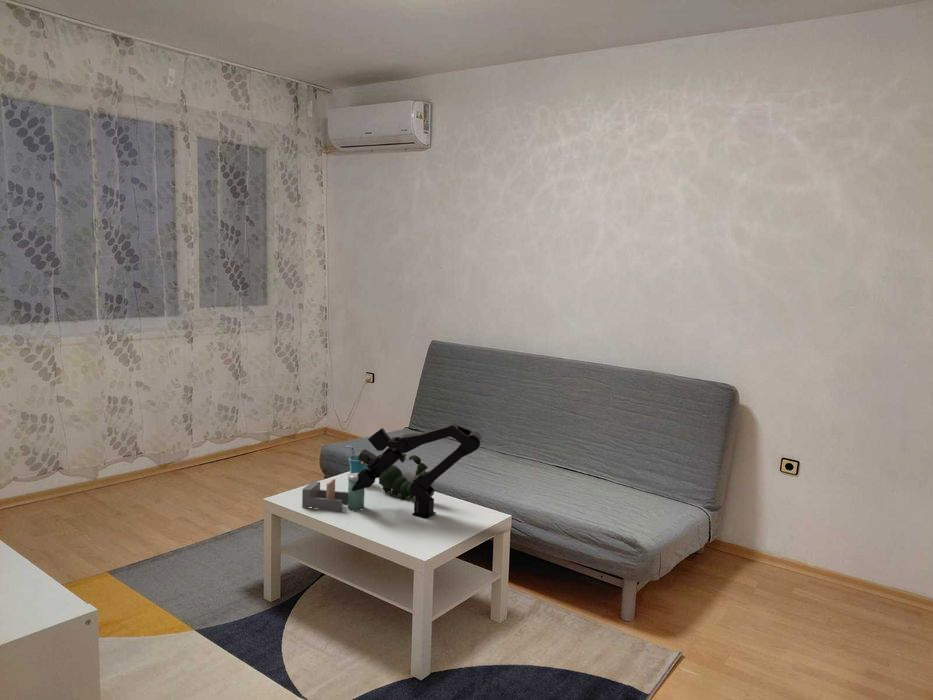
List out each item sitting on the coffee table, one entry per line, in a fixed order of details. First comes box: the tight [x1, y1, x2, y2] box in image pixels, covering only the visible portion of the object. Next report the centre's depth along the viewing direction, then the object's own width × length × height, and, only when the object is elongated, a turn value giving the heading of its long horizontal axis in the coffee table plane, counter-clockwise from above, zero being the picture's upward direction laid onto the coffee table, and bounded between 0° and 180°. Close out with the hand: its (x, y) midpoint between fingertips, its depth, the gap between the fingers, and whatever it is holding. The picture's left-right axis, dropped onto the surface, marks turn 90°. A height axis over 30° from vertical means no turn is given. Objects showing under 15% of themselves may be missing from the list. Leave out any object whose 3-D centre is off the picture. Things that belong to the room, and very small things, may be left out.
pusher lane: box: [301, 480, 348, 512], centre depth 253 cm, size 15×10×7 cm, turn 81°
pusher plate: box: [326, 478, 336, 499], centre depth 253 cm, size 1×7×9 cm, turn 171°
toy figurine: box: [378, 454, 429, 500], centre depth 268 cm, size 9×19×25 cm
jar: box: [347, 473, 366, 511], centre depth 251 cm, size 6×6×12 cm
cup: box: [345, 445, 367, 474], centre depth 281 cm, size 14×8×15 cm, turn 46°
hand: (356, 486), depth 251 cm, fingers open, 9 cm apart
